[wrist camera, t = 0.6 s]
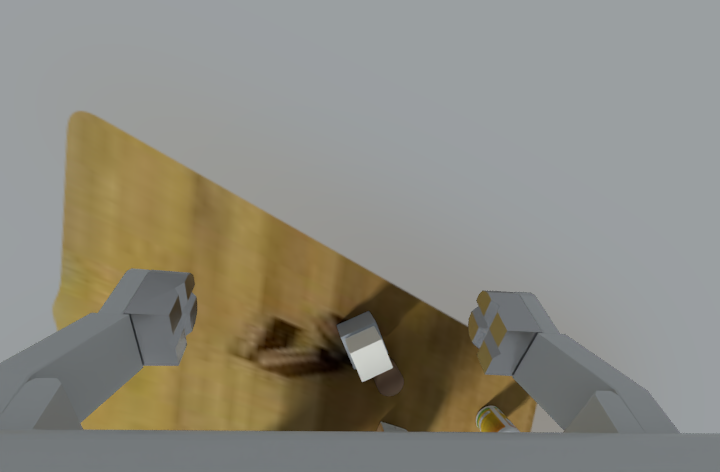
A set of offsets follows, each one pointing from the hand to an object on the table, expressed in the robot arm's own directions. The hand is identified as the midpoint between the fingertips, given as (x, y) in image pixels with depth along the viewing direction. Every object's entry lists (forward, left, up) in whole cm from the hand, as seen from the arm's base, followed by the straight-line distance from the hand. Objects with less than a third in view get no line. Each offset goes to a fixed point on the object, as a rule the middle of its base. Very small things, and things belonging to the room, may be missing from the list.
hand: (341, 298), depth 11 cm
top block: (-26, -1, -45) cm, 52 cm away
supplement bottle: (-53, -17, -50) cm, 75 cm away
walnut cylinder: (-34, -2, -50) cm, 60 cm away
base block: (-26, -1, -50) cm, 56 cm away
